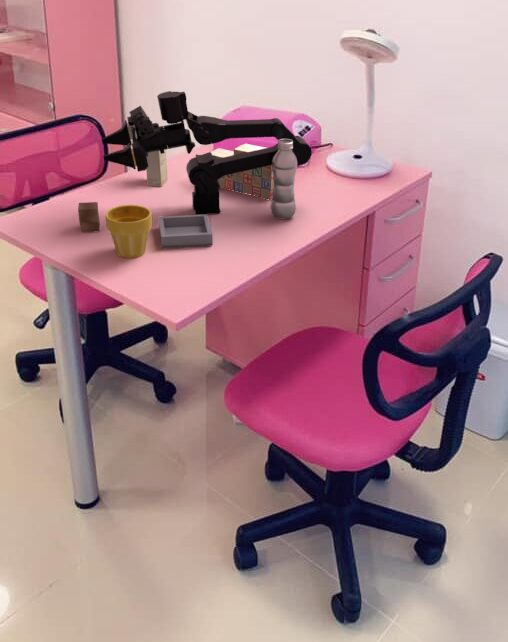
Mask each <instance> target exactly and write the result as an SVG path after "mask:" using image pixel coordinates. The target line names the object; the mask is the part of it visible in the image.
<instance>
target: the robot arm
mask: <svg viewBox="0 0 508 642" xmlns="http://www.w3.org/2000/svg"><path fill="white" fill-rule="evenodd" d="M156 97H157V101H158V107H159V110H160V116H161V117H160V118H161V120H162V121H166V124H167V125H166V124H165V125H159V123H158V122H153V121H152V120H151V119H150V117H149V116H148V115H147V113H146V112H145V110H144V109H143V107H142V106H141V105H139V106H137V107H135V108H133V109H132V110H130V111H129V116H127V120H124V123H123V124H122V126H121V127H120V128H119V129H118V130H116V131H115V132H111V133H110V134H108V135H106V136H105V137H102V138H101V142H102V144H107V145H115V146H116V145H117V146H125V147H124V148H123V149H120V150H116V151H113V152H110V153H107V154H105V155H103V156H102V157H103V160H104V161H106V162H110V163H114V164H118V165H121V166H125V167H129V168H132V169H133V170H136V169H137V172H143V171H146V169H147V168H148V161H147V156H148V153H151V152H156V151H160V153H161V154H163V153H165V152H164V150H166V151H167V150H171V149H177V148H180V147H185V149H186V150H185V151H186V153H187V154H188V155H190V154H191V152H192V151H193V149H194V148H195V147H196V143H195V142H194V141H192V137H191V133H192V136H193V138H194V140H195V141H196V142H197V143H198V144H200V145H201V146H207V145H209V146H210V145H214V144H217V143H221V142H224V141H226V140H229V139H249V138H250V139H251V138H252V139H254V138H257V139H258V138H275V139H276V140H277V142H278V141H279V140H280V139H291V140H292V141H293V149H292V152H293V153H294V154H295V156H296V158H297V166H302V165H306V164H308V162H309V161H310V159H311V157H312V152H313V151H312V148H311V146H310V145H309V144H308V142H307V141H306V139H304V138H303V137H302V136H300V135H295V134H294V133H293V132H292V131H291V130H290V129H289V128H288V127H287V126H286V125H285V124H284V123H283V121H282V120H281V119H279V118H276V117H275V118H270V119H269V118H268V119H264V118H263V119H235V120H228V119H227V120H226V119H222V118H218V117H214V116H207V115H197V114H194V113H192V112H191V111H189V110H188V104H187V95H186V92H185V91H172V90H171V91H170V90H169V91H164V92H161V93H159V94H158V95H157V96H156ZM184 121H185V122H186V125H187V127H188V128H186V125H185V122H184ZM190 130H191V131H190ZM278 150H279V149H278V143H277V144H275V145H273V146H269V147H266V148H264V149H260V150H255V151H251V152H246V153H242V154H237V155H232V156H228V157H223V158H214V157H213V156H212V153H211V152H212V151H208V152H206V153H203V154H195V157H193V158H190V159H189V161H188V162H187V163H186V167H185V168H186V174H187V177H188V179H189V182H190V183H191V184H192V185H193V187H194V188H193V189H194V191H192V192H191V197H192V209H193V211H194V212H195V215H205V214H207V215H218V214H219V213H220V214H221V212H222V211H221V207H220V189H221V188H220V185H219V182H218V179H220V178H221V177H223V176H225V175H229V174H234V173H238V172H243V171H247V170H252V169H256V168H261V167H265V166H270V165H272V160H273V157H274V156H275V154H276V153H277V152H278ZM220 214H219V215H220Z"/></svg>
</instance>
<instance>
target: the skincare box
mask: <svg viewBox="0 0 508 642" xmlns="http://www.w3.org/2000/svg"><path fill="white" fill-rule="evenodd" d="M164 152H165V153H163V154H161V153H160V151H156V152H151V153H148V156H147V161H148V168H147V169H146V170H145V171H146V181H147V183H146V185H147V186H151V187H163V185H165V184H166V183H167V182H168V179H169V177H168V164H167V163H168V159H167V149H166V150H164Z"/></svg>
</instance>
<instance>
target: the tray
mask: <svg viewBox="0 0 508 642" xmlns="http://www.w3.org/2000/svg"><path fill="white" fill-rule="evenodd" d="M158 225H159V226H158V227H159V236H160V242H161V243H160V244H161V249H177V248H180V249H181V248H194V247H210V246H209V245H213V243H214V241H213V240H214V239H213V232H212V227H211V224H210V219H209V217H208V214H201V215H196V214H187V215H186V214H185V215H172V216H170V215H169V216H168V215H167V216H158Z"/></svg>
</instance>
